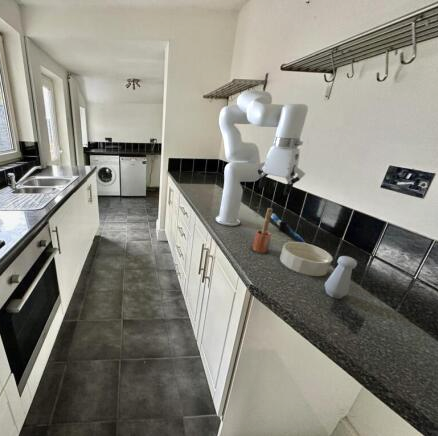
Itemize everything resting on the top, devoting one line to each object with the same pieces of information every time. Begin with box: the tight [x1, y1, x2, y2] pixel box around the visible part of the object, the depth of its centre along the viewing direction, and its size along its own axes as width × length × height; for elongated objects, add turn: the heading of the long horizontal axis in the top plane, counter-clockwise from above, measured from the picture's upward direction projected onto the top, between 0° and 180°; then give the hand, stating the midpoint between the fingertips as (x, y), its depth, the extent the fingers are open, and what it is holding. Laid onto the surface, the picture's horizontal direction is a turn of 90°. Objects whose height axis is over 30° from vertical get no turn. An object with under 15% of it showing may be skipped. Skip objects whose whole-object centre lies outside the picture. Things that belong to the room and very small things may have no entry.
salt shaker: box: [324, 255, 358, 300], centre depth 70 cm, size 6×6×13 cm
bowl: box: [279, 241, 334, 277], centre depth 86 cm, size 15×15×6 cm
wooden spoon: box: [261, 207, 273, 236], centre depth 93 cm, size 3×2×18 cm, turn 33°
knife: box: [270, 211, 306, 243], centre depth 113 cm, size 31×3×4 cm, turn 178°
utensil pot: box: [252, 229, 272, 253], centre depth 95 cm, size 5×6×8 cm
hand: (273, 190), depth 87 cm, fingers open, 9 cm apart
